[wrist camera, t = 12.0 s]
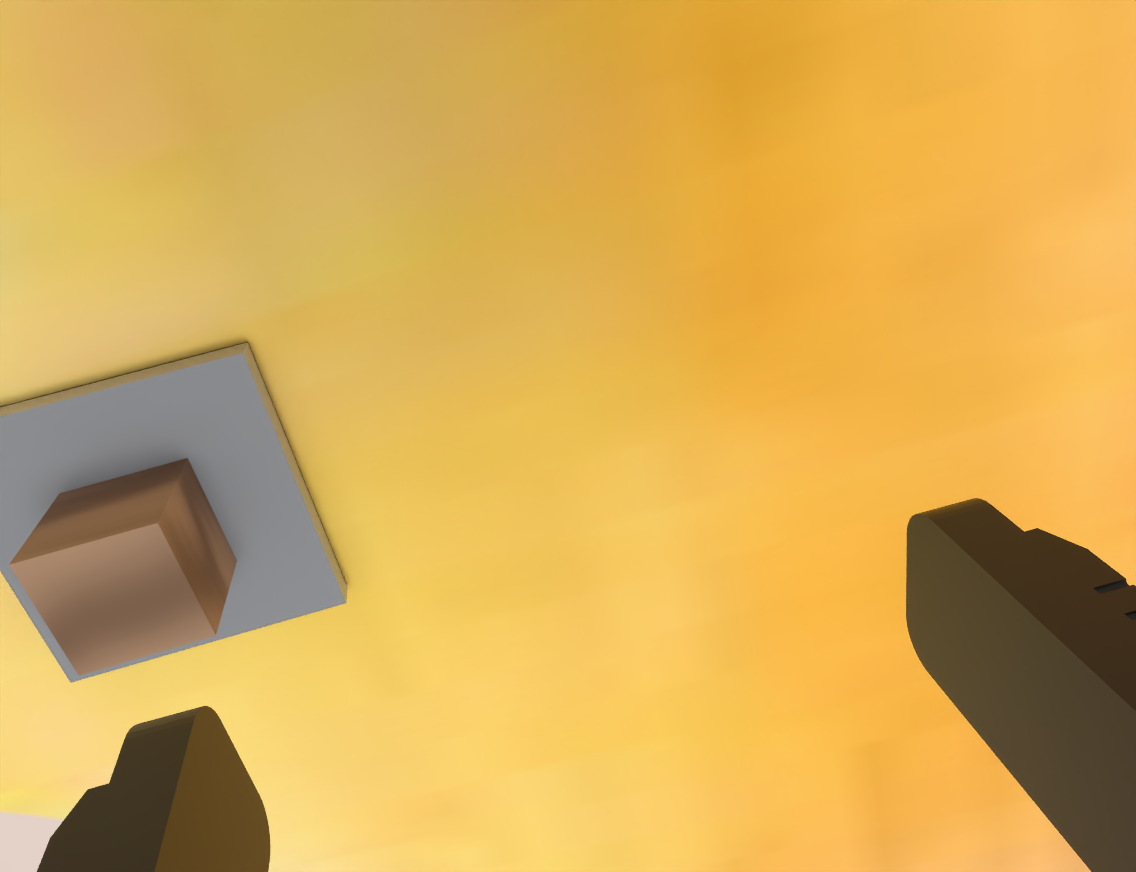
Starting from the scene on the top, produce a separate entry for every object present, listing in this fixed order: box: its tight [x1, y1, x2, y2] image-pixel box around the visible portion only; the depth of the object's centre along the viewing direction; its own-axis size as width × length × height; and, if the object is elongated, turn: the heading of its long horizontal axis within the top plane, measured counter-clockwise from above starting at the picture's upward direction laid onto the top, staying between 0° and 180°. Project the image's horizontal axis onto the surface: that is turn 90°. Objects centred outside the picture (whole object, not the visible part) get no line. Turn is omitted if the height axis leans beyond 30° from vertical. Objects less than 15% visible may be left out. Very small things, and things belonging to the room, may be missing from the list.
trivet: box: [0, 342, 347, 682], centre depth 35 cm, size 12×12×1 cm
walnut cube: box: [9, 458, 237, 676], centre depth 32 cm, size 5×5×5 cm
